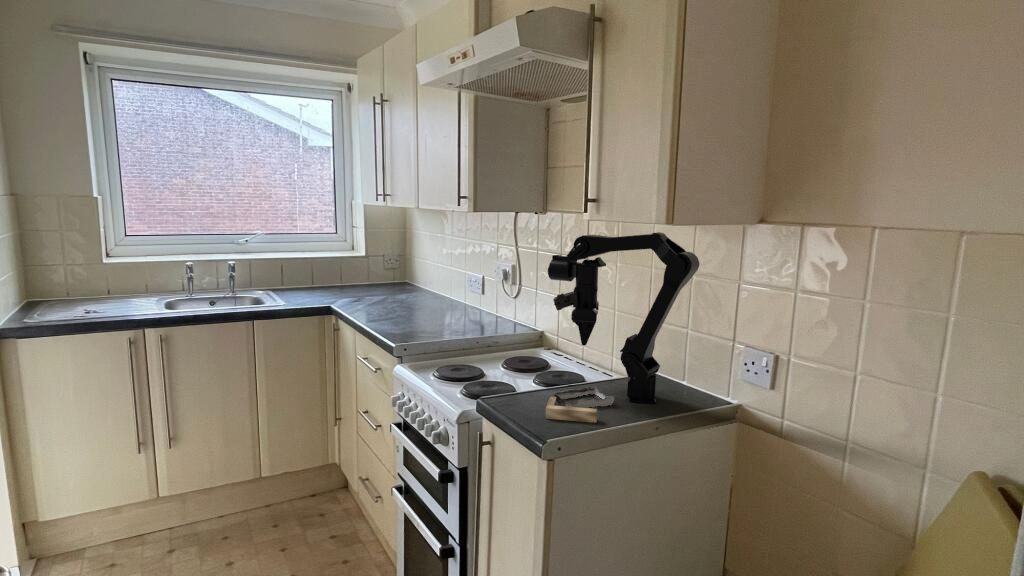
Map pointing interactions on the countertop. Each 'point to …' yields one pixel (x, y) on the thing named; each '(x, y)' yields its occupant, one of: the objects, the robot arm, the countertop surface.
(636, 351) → the robot arm
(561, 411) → the oak fence
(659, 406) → the countertop surface
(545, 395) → the countertop surface
